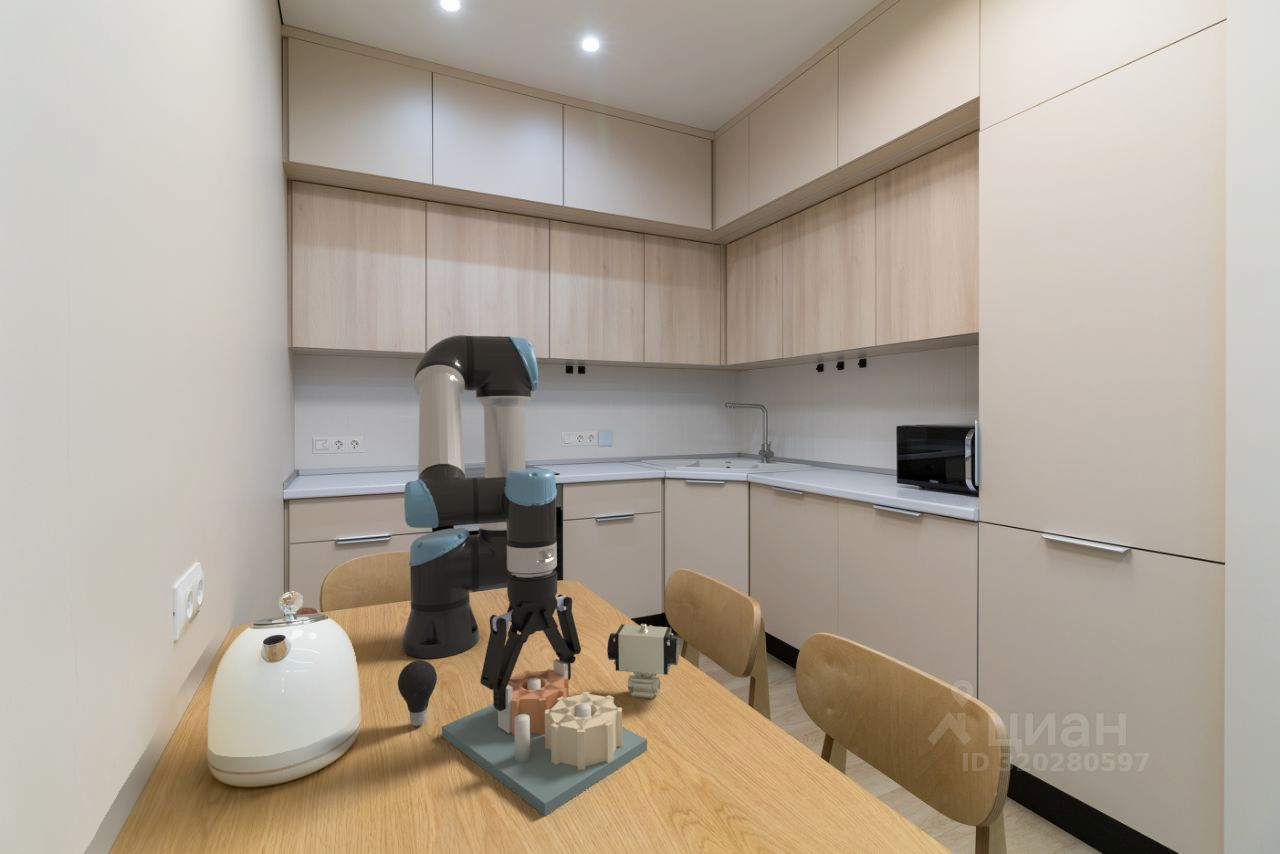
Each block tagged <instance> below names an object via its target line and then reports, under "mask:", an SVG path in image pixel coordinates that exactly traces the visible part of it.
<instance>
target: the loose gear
mask: <svg viewBox="0 0 1280 854" xmlns="http://www.w3.org/2000/svg"><path fill="white" fill-rule="evenodd" d="M532 678H538V679H540V680H541V688H540V689H538V690H527V681H528V680H529V679H532ZM508 685H509V686H511V687H512V700H511V703H512V734H513V735H515V723H514V718H515V717H516V716H518V715H520V714H527V715H529V717H530V733H539V734H540V735H542V734H545V710H551V709H552V708H553V707H554V706H555V705H556V704H557V699H558V698H560V697H564V698H567V697H570V696H569V691H570V690H569V688H570V687H569V680H568V677H567V676H565V677H561V676H559V675H557V674H555V673H554V669H547V670H533V671H532V670H530V669H526V670H522V673H521V672H520V673H519V674H517V675H514V676H511V677H510V680H509V683H508Z"/></svg>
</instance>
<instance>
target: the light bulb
mask: <svg viewBox="0 0 1280 854" xmlns="http://www.w3.org/2000/svg"><path fill="white" fill-rule="evenodd" d="M397 679H398V680H397V687H398V691H399V693H400V696H401V697H402V698H403V700H404V701H405V703H406V705H407V710H408V713H409V722H410V725H413V726H415V728H420V727H422V725H423V724H424V723H426V721H427V719H428V706H429V702H430V698H431V696H432V694H433V692H434V690H435V688H436V685H437V680H438V675H437V671H436V669H435V667H434V666H433V665H432V664H431V663H430V662H428V661H427V660H422V659H419V660H418V659H417V660H414V661H411V662H410V663H407V665H405V667H403V669H402V670H401V672H400V674H399V676H398V678H397Z"/></svg>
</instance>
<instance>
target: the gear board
mask: <svg viewBox="0 0 1280 854" xmlns="http://www.w3.org/2000/svg"><path fill="white" fill-rule="evenodd" d="M540 688H541V680H540V679H538V678H532V679H529V680H528V681H527V690H538V689H540ZM614 698H615V697H613V696H612V695H606V696H602V695H597V694H591V693H590V691H582V693H581V694H578V695H573V696H569V697H567V698H564V697H560V698H558V699H557V704H556V705H555V706H554V707H553V708H552V709H551V710H545V734H542V735H540V734H539V733H530V717H529V715H527V714H520V715H518V716H516V717H515V718H514V723H515V735H513V734H512V732H510V733H507V732H506V731H504V730H503V729H501V728H500V727H498V710H497V709H495V708H494V705H493V704H489V705H488V706H486V707H484V708H481V709H479V710H477V711H474V712H472V713H470V714H467V715H465V716H463V717H462V718H458V719H456V720H453V721H452V722H450V723H447V724H445V725H443V726H441V736H442V738H443V739H445V740H446V741H447V742H449V743H450V744H451V745H453V747H455V748H456V749H458V750H459V751H461V752H462V753H463V754H464V755H466V756H467V757H468V758H469V759H471V760H472V761H474V763H476V764H477V765H478V766H480V767H481V768H482V769H484V770H485V771H486V772H488V773H489V774H490V775H492V776H493V777H494V778H495V779H496V780H498V781H499V782H501V783H502V784H503V785H504V786H505V787H507V788H509V790H510V791H512V792H513V793H515V794H516V795H517V796H519V798H522V799H523V800H524V801H525V802H526V803H528V804H529V805H530V806H531V807H533V808H534V809H536V810H537V811H538V812H540V813H541V814H542V815H544V816H548V815H549V814H551V813H552V812H554V811H556V810H557V809H559V808H560V807H562V806H564V804H566V803H568V802H569V801H571V800H572V799H574V798H575V797H577V796H578V795H580V794H582V793H584V792H585V791H586V790H587V789H590V787H593V786H594V785H595V784H598V783H599V782H600V781H601V780H604V779H605V778H606V777H607V776H610V775H611V774H612V773H614V772H616V771H617V770H619V769H620V768H622V767H623V766H624V765H626V764H628V763H629V762H630V761H632V760H633V759H636V758H637V757H639V756H640V755H642V754H643V753H645V752H646V751H647V750H648V739H646V738H645V737H643V736H641V735H639V734H637V733H635V732H633V731H631V730H630V729H628V728H626V727H623V708H622V707H618V706H616V704H615V703H614V700H615V699H614Z"/></svg>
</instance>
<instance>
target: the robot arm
mask: <svg viewBox="0 0 1280 854" xmlns="http://www.w3.org/2000/svg"><path fill="white" fill-rule="evenodd" d="M413 385H414V386H413V387H414V391H415V392H416V395H418V396H419V403H418V404H419V405H418V407H419V409H418V410H419V411H418V415H419V416H418V426H419V427H418V468H417V469H418V473H417V475H418V479H415V480H412V481H408V482H406V484H405V486H404V491H403V492H404V494H403V495H404V499H403V500H404V501H403V502H404V505H403V506H404V521H405V523H406V525H407V526H408V527H409V528H412V529H413V528H414V529H420V528H421V529H423V528H424V529H430V528H431V529H436V528H441V527H443V528H444V527H452V526H453V527H454V526H466V525H478V534H471V535H470V532H469V530H468V529H467V528H465V527H464V528H463V527H458V528H455V527H454V528H453V527H452V528H445V529H440V530H436V531H432V532H428V533H426V534H423V535H421V536H419V537H417V538H416V539H414V541H413V542H412V543H411V545H410V549H409V550H410V551H409V553H410V554H409V561H408V566H409V567H410V570H409V571H410V573H409V574H410V576H409V577H410V612H409V615H408V620H407V622H406V625H405V628H404V633H403V635H402V644H401V645H402V652H403V653H404V654H405V655H407V656H410V657H414V658H421V659H435V658H443V657H450V656H452V655H453V656H454V655H457V654H460V653H463V652H465V651H467V650H469V649H471V648H473V647H474V646H475V645H476V644H477V643H478V642H479V639H480V631H479V626H478V623H477V620H476V618H475V617H476V616H475V615H474V612H473V609H472V607H471V603H470V602H471V601H470V592H475V591H484V590H485V591H486V590H494V589H504V588H505V589H506V591H507V594H506V595H507V599H508V601H509V603H508V607H507V611H506V612H505V613H503V614H500V615H496V614H492V615H491V616H490V617H489V628H490V632H489V637H488V641H487V647H486V651H485V656H484V662H483V667H482V671H481V674H480V675H481V676H480V684H481V685H482V686H484V687H485V688H487V689H489V690H491V691H492V695H493V696H492V697H493V701H492V702H493V705H494V708H495V709H497V710H498V727H500V728H501V729H503V730H504V731H506V732H507V733H510V732H512V703H511V700H512V687H511V686H509V685H508V683H509V680H510V678H511V677H512V674H513V672H514V670H515V667H516V664H517V662H518V660H519V656H520V654H521V651H522V648H523V646H524V644H525V643H526V642H528V639H529V637H530V635H534V634H535V633H536V632H542V631H543V633H544V635H545V637H546V639H547V640H548V643H550V645H551V647H552V649H553V651H554V653H555V655H556V656H557V658H555V659H554V660H552V661H553V665H552V667H553V669H552V670H554V673H555V674H557V675H559V676H561V677H565V676H567V677H568V681H570V680H571V677H572V671H571V670H572V669H571V667H572V665H571V664H574V663H575V661H576V659H577V658H576V655H579V654H580V653H581V651H582V648H581V643H580V640H579V636H578V631H577V627H576V623H575V620H574V614H573V611H572V610H573V607H572V606H573V598H572V597H570V596H568V595H565V594H558V572H557V571H556V567H557V566H558V562H557V561H558V557H557V556H558V554H557V549H558V547H557V545H558V544H557V542H558V541H557V495H558V489H557V487H556V486H557V485H556V475H555V472H554V471H553V470H552V469H550V468H543V467H542V468H540V467H539V468H538V467H537V468H536V467H535V468H534V467H533V468H526V440H525V439H526V436H525V435H526V434H525V433H526V429H525V427H526V426H525V407H526V405H527V404H528V403H529V401H531V400H532V392H535V391H537V390H538V388H539V368H538V362H537V356H536V353H535V349H534V347H533V345H532V343H531V342H530V341H529V339H526V338H524V337H516V336H511V335H510V336H509V335H508V336H500V335H499V336H498V335H497V336H496V335H495V336H494V335H493V336H489V335H463V334H459V335H452V336H450V337H446V338H444V339H442V340H440V341H438V342H436V343H435V344H434V345H432V346H431V347H430V348H429V349H428V350H427V351H426V352H425V353H424V354H423V356H422V357H421V358H420V360H419V362H418V363H417V366H416V368H415V371H414V379H413ZM464 391H475V395H476V397H475V399H476V400H477V401H478V403H479V404H480V405H482V407H483V429H484V430H483V432H484V433H483V435H484V440H483V441H484V442H483V443H484V477H478V478H477V477H475V478H473V477H472V478H471V477H470V478H466V469H465V466H466V465H465V453H464V452H465V451H464V435H463V420H462V401H461V396H462V394H463V393H464ZM557 594H558V595H557ZM556 596H557V597H556ZM555 611H556V615H557V618H558V622H559V626H560V630H561V632H560V630H559V628H558V627H559V626H558V623H557V621H556V619H555V618H554V616H553V615H554V613H555ZM510 623H511V624H510ZM509 624H510V625H509ZM518 632H519V633H518Z"/></svg>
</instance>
